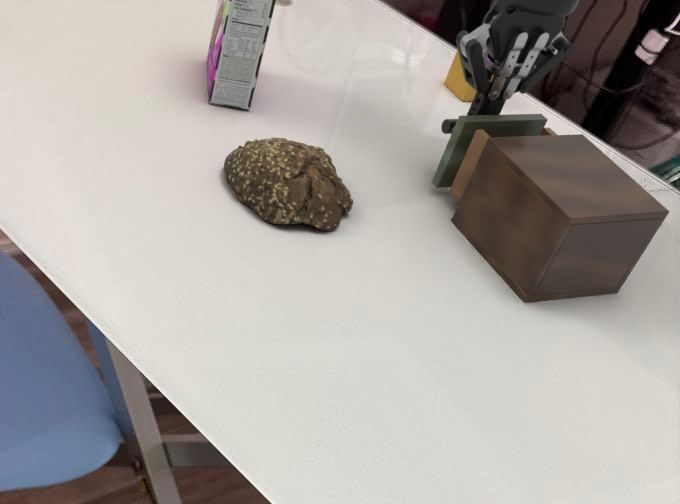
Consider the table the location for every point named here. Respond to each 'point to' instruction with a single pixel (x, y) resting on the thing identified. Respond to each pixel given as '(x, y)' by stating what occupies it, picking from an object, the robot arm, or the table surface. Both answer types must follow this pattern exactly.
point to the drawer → (478, 144)
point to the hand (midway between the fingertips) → (476, 129)
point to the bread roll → (288, 182)
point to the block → (459, 81)
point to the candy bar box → (237, 50)
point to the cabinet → (556, 216)
